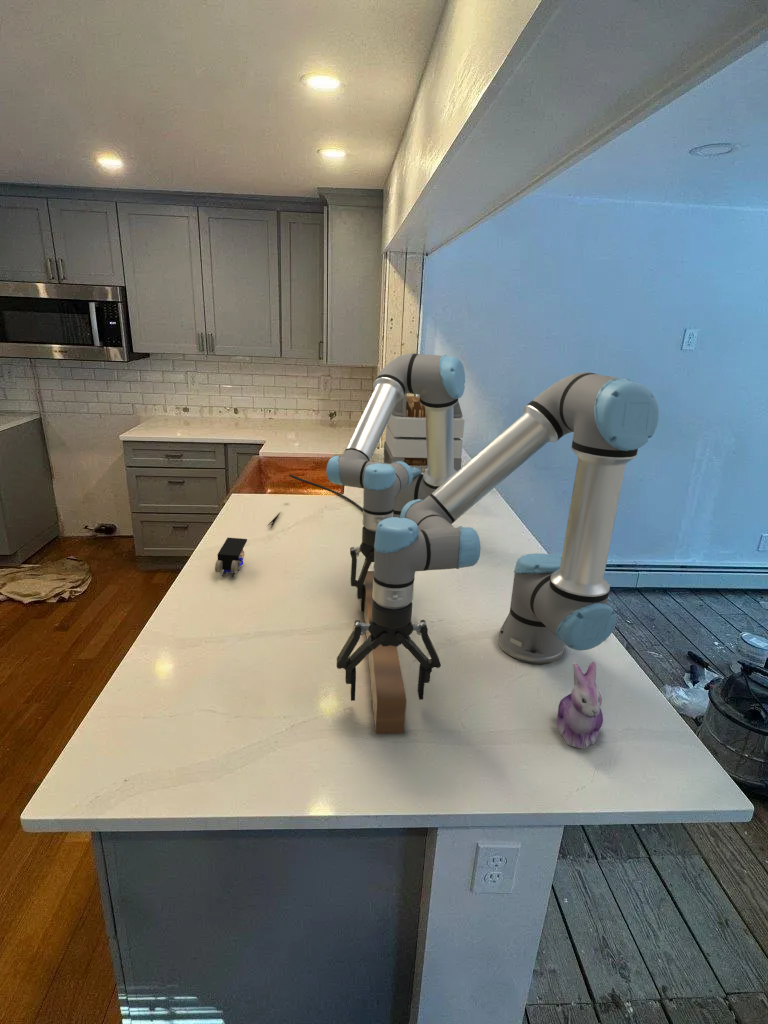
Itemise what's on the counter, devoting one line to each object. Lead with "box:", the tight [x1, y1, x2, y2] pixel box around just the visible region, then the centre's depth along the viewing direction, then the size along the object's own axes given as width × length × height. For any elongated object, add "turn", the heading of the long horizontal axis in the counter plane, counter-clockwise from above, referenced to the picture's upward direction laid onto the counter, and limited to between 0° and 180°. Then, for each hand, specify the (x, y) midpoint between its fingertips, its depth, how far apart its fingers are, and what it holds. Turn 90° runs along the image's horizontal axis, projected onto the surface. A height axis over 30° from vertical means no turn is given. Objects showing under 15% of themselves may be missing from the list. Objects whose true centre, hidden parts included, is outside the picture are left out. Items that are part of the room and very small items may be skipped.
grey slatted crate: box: [383, 393, 465, 471], centre depth 268 cm, size 34×33×41 cm
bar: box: [363, 570, 407, 735], centre depth 130 cm, size 53×5×8 cm, turn 5°
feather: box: [266, 512, 281, 529], centre depth 211 cm, size 2×28×2 cm
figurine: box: [556, 661, 604, 749], centre depth 106 cm, size 9×10×15 cm
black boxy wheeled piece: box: [214, 537, 248, 578], centre depth 166 cm, size 7×8×15 cm
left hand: (374, 608), depth 149 cm, fingers closed on bar, 5 cm apart
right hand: (386, 695), depth 112 cm, fingers open, 13 cm apart
